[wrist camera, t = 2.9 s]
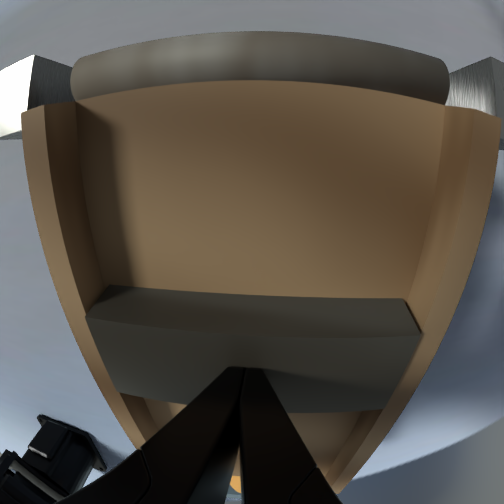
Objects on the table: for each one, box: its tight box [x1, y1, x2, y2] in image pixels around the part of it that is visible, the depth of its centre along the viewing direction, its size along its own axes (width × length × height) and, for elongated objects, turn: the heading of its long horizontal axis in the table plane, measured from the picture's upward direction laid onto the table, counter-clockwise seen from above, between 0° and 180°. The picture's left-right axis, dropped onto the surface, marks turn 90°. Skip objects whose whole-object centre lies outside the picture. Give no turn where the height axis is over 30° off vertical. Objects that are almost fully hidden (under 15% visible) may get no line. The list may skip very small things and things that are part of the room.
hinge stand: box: [0, 55, 504, 150], centre depth 9 cm, size 5×14×8 cm, turn 89°
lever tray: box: [21, 31, 502, 494], centre depth 9 cm, size 19×10×3 cm, turn 179°
